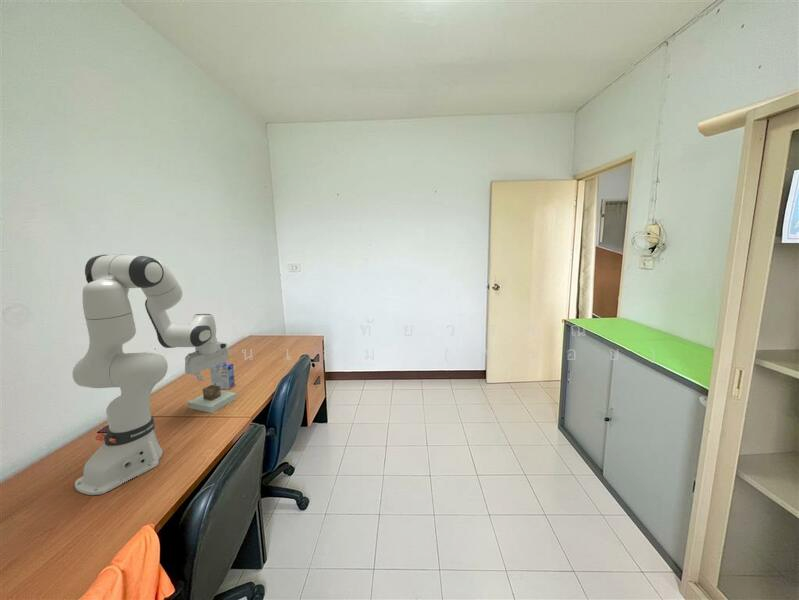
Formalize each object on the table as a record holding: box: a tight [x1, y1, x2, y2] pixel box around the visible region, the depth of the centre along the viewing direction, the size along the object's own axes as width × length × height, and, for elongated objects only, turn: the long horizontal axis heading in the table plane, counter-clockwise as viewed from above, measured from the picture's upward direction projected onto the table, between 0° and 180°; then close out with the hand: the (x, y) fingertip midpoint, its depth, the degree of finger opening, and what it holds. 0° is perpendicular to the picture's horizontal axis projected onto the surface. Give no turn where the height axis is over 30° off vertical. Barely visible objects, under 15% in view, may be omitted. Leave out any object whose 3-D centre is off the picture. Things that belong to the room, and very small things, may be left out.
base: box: [187, 389, 237, 414], centre depth 149 cm, size 14×14×3 cm
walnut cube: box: [202, 384, 221, 401], centre depth 148 cm, size 5×5×5 cm
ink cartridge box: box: [209, 361, 236, 390], centre depth 165 cm, size 10×6×14 cm, turn 89°
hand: (209, 376), depth 146 cm, fingers open, 8 cm apart
